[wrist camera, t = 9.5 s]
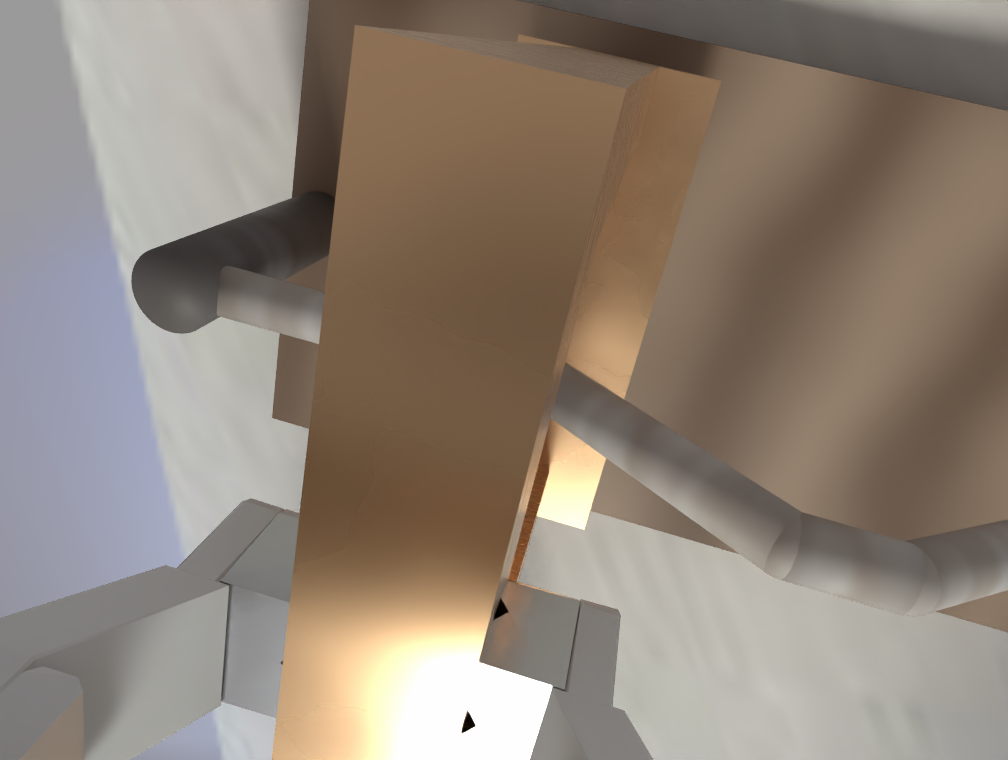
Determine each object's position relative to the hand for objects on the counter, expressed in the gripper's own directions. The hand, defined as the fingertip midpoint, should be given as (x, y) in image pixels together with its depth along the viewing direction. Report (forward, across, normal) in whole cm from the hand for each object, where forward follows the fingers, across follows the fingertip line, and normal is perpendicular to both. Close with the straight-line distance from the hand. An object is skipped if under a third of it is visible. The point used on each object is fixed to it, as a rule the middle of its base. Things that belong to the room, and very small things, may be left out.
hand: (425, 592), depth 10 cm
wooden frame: (+14, 0, 0) cm, 14 cm away
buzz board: (+17, +6, 0) cm, 18 cm away
